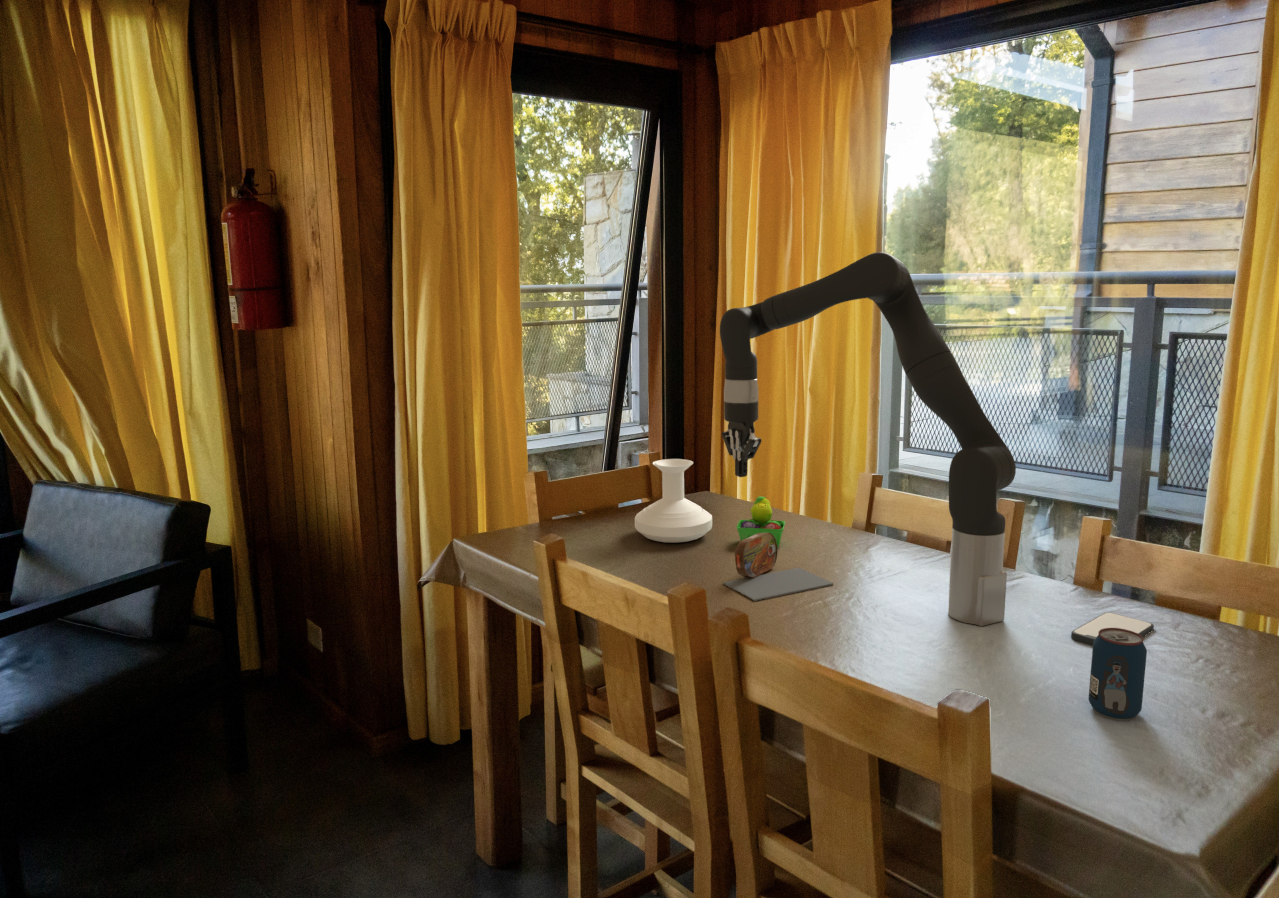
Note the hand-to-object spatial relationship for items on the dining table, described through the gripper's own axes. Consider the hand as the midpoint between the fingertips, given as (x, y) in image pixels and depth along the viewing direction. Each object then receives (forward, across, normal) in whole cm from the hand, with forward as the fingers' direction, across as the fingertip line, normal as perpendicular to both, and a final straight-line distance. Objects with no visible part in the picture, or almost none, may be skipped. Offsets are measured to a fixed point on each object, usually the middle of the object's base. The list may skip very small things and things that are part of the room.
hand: (741, 476), depth 195 cm
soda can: (+21, -84, -11) cm, 88 cm away
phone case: (+22, -66, -37) cm, 78 cm away
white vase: (+21, +28, +2) cm, 36 cm away
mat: (+21, -14, 0) cm, 26 cm away
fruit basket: (+21, +12, -14) cm, 28 cm away
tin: (+21, -6, 0) cm, 22 cm away
